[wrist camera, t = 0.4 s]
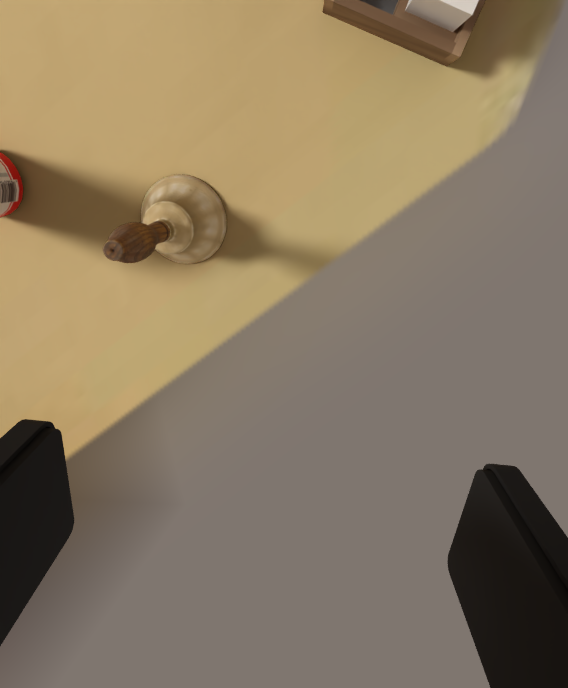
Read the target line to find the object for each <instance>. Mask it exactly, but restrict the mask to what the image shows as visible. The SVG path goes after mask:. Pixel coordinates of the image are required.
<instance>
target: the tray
mask: <svg viewBox="0 0 568 688" xmlns="http://www.w3.org/2000/svg"><path fill="white" fill-rule="evenodd" d="M408 1H409V0H324V7H323V13H325V14H328V15H330V16H332V17H335V18H337V19H339V20H341V21H344V22H346V23H348V24H351V25H353V26H355V27H358V28H360V29H362V30H364V31H367V32H369V33H371V34H374V35H376V36H378V37H380V38H383V39H385V40H387V41H390V42H392V43H394V44H397V45H399V46H401V47H403V48H406V49H408V50H410V51H413V52H415V53H417V54H419V55H422V56H424V57H426V58H429V59H431V60H433V61H436V62H438V63H440V64H442V65H445V66H448V65H449V64H451V63H452V62H454V61H455V60H457V59H458V58H460V56H461V54H462V52H463V50H464V47H465V45H466V43H467V41H468V38H469V36H470V34H471V32H472V29H473V27H474V25H475V23H476V20H477V18H478V16H479V14H480V11H481V9H482V7H483V5H484V3H485V0H479V1H478V3H477V6H476V8H475V10H474V12H473V15H472V16H471V17H470V18H468V19H467V20H466V21H465V22H464V23H463V24H462V25H460V26H459V27H458V28H457V29H456V30H455V31H454V32H451V31H449V30H447V29H444V28H442V27H440V26H438V25H435V24H433V23H431V22H429V21H426V20H424V19H422V18H420V17H417V16H415V15H413V14H411V13H408V12H406V11H405V9H406V7H407V4H408Z"/></svg>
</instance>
